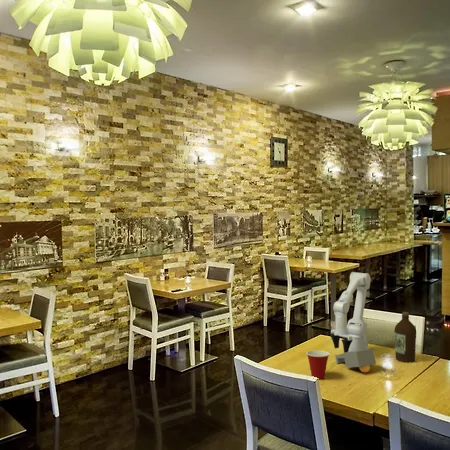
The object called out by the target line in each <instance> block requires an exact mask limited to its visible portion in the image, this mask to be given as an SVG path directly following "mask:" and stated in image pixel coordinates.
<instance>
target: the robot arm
mask: <svg viewBox="0 0 450 450" xmlns="http://www.w3.org/2000/svg"><path fill="white" fill-rule="evenodd" d="M370 287H371V275H370V274H369V273H368V272H366V273H363V272H356V271H352V272H351V273H350V275H349V284H348V286H347V289H346V290H344V291H343V292H342V293H341V295H340V296H339V299H338V300H337V301H335V302H334V303H333V307H332V309H333V312H334V313H333V314H334V316H335V328H333V329H330V335H329V337H330V338H331V340H332V344H333V347H334V349H339V347H340V339H341V338H342V339H341V342H342V343H341V344H342V347H343V353H345V352H350V351H356V350H364V349H369V341H368V337H367V334H368V330H367V329H368V328H367V327H368V324H367V323H366V321H364V320H363V319H364V310H365V306H366V298H367V293H368V291H367V290H369V289H370ZM355 291H356V297H355V302H354V303H355V304H354V311H353V317H352V318H350V319H349V320H348V318H347V317H348V312H349V309H350V305H351V302H352V300H353V298H354V295H353V294H354V293H355Z"/></svg>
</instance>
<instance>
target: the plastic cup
mask: <svg viewBox="0 0 450 450" xmlns="http://www.w3.org/2000/svg"><path fill="white" fill-rule="evenodd" d="M305 354H306V356H307V360H308V363H309V364H308V365H309V369H310V373H311V377H312V376H314V377H317V378H319V380H321V381H322V380H323V379H325V375H326V370H327V364H328V358H329V356H330V352H328V351H326V350H320V349H319V350H313V349H312V350H308V351H306V353H305ZM319 380H318V381H319Z"/></svg>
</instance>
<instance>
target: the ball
mask: <svg viewBox="0 0 450 450" xmlns="http://www.w3.org/2000/svg"><path fill="white" fill-rule="evenodd" d="M358 369H359V371H361V372H362V373H364V374H366V373H368V372H369V371H370V370H371V365H366V366H361V367H358Z"/></svg>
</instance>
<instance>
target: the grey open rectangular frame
mask: <svg viewBox="0 0 450 450" xmlns="http://www.w3.org/2000/svg"><path fill="white" fill-rule="evenodd" d="M334 357H335V360H336V364H340V363H341V364H342V363H345V368H359V367H361V366H366V365H369V366H371V365H375V364H377V361H376V356H375V352H374V349H373V348H368V349H364V350H356V351H350V352H345V353H344V352H342V353H340V354H335V355H334Z"/></svg>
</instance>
